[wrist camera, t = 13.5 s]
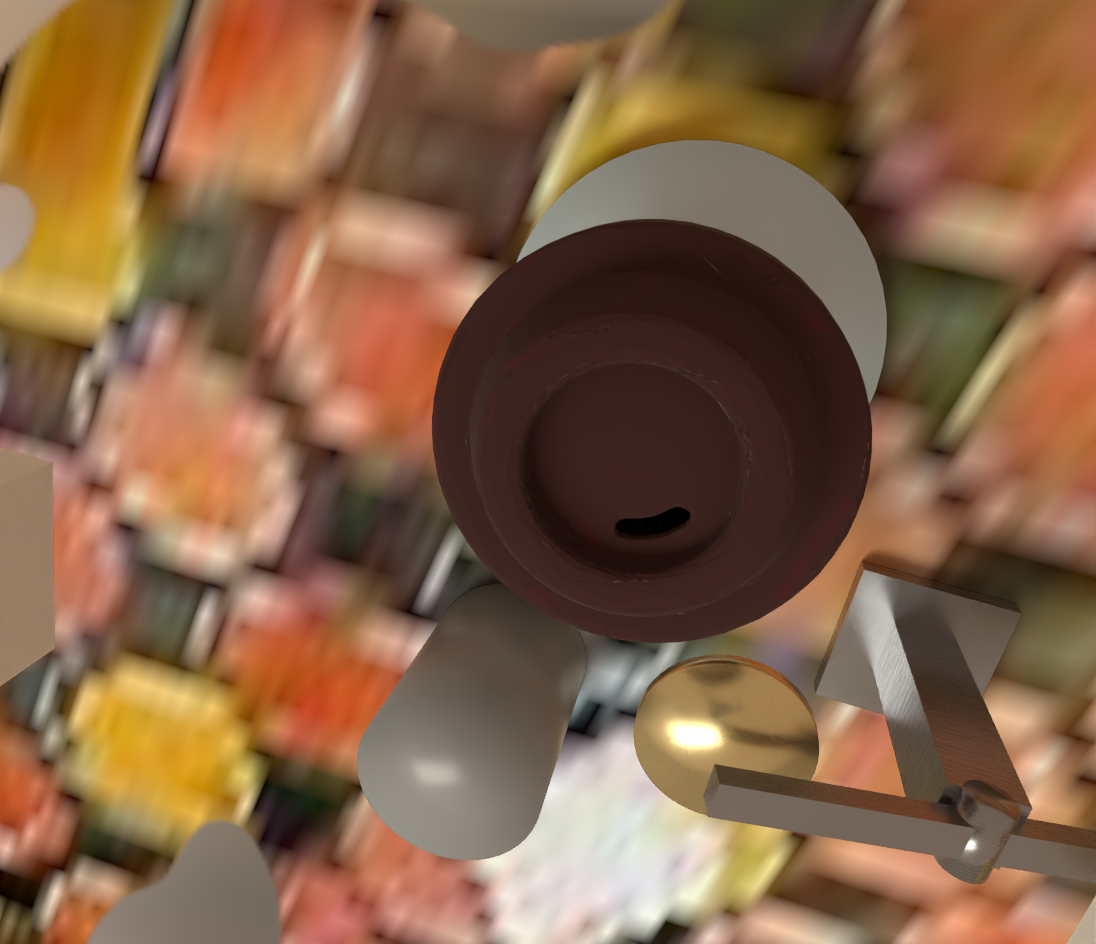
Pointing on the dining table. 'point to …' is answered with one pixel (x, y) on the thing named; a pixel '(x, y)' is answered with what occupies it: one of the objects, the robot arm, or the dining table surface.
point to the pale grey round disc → (741, 223)
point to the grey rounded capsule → (474, 727)
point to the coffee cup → (652, 431)
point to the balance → (913, 721)
